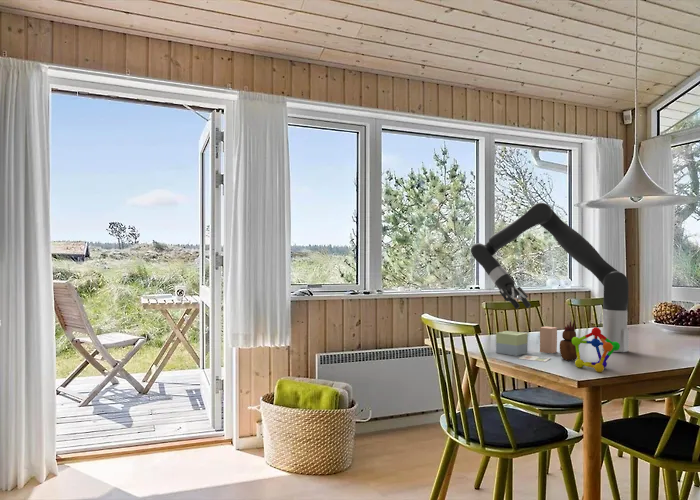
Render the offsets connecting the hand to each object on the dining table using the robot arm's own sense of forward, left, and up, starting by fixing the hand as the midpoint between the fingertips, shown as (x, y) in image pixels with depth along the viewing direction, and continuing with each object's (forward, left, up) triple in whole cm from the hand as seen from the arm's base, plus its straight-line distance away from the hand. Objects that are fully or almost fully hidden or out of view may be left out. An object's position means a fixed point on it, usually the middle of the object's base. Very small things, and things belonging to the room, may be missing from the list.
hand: (523, 307), depth 238 cm
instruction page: (-15, +21, -17) cm, 31 cm away
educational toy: (-38, +22, -17) cm, 47 cm away
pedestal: (-3, +16, -17) cm, 24 cm away
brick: (-12, +2, -17) cm, 21 cm away
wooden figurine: (-25, +13, -17) cm, 33 cm away
